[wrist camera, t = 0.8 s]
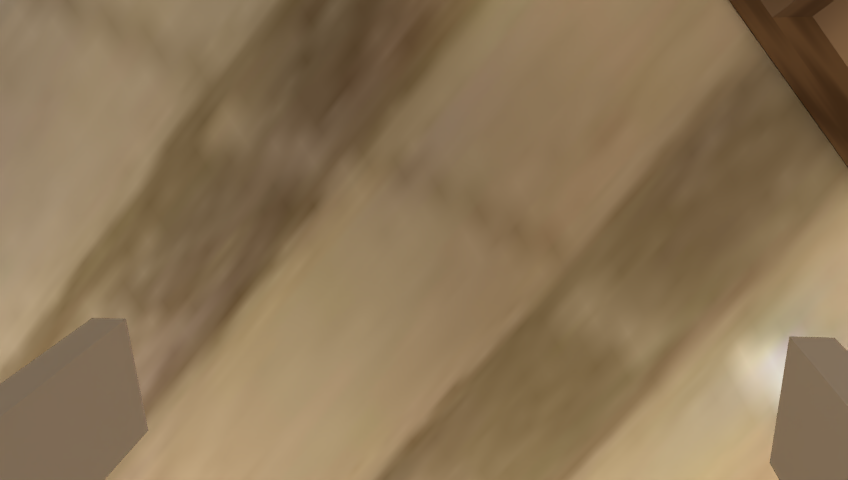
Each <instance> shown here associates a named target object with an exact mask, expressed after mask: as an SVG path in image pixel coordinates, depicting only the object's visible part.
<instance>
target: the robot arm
mask: <svg viewBox="0 0 848 480" xmlns="http://www.w3.org/2000/svg"><path fill="white" fill-rule="evenodd" d="M147 431H148V427H147V422H146V417H145V412H144V407H143V402H142V397H141V392H140V387H139V382H138V377H137V372H136V367H135V362H134V357H133V352H132V347H131V342H130V338H129V333H128V328H127V323H126V319H114V318H92V319H90V320H89V321H87V322H86V323H85V324H83V325H82V326H80V327H79V328H78V329H76V330H75V331H73V332H72V333H71V334H69V335H68V336H66V337H65V338H64V339H62V340H61V341H59V342H58V343H57V344H55V345H54V346H52V347H51V348H50V349H48V350H47V351H46V352H44V353H43V354H41V355H40V356H39V357H37V358H36V359H34V360H33V361H32V362H30V363H29V364H27V365H26V366H25V367H23V368H22V369H20V370H19V371H18V372H16V373H15V374H13V375H12V376H11V377H9V378H8V379H6V380H5V381H4V382H2V383H1V384H0V480H105V478H106V477H107V476H108V475H109V474H110V473H111V472H112V471H113V469H114V468H115V467H116V466H117V465H118V464H119V463H120V462H121V460H122V459H123V458H124V457H125V456H126V455H127V454H128V453H129V451H130V450H131V449H132V448H133V447H134V446H135V445H136V443H137V442H138V441H139V440H140V439H141V438H142V437H143V436H144V434H145V433H146V432H147ZM770 464H771V466H772V467H773V469H774V471H775V473H776V475H777V476H778V478H779V480H848V351H847V350H846V349H845V348H844V347H843V346H842V345H841V344H840V343H839V342H838V341H837V340H836V339H835V338H823V337H789V343H788V350H787V356H786V362H785V369H784V375H783V381H782V388H781V394H780V401H779V407H778V413H777V420H776V426H775V433H774V439H773V445H772V452H771V458H770Z"/></svg>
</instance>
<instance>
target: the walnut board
mask: <svg viewBox="0 0 848 480" xmlns="http://www.w3.org/2000/svg"><path fill="white" fill-rule="evenodd" d="M730 2H731V3H732V5H733V6H734V7H735V9H736V10H737V12H738V13H739V14H740V16H741V17H742V19H743V20H744V22H745V23H746V24H747V26H748V27H749V29H750V30H751V31H752V33H753V34H754V36H755V37H756V38H757V40H758V41H759V43H760V44H761V45H762V47H763V48H764V50H765V51H766V52H767V54H768V55H769V57H770V58H771V59H772V61H773V62H774V64H775V65H776V66H777V68H778V69H779V71H780V72H781V73H782V75H783V76H784V78H785V79H786V81H787V82H788V83H789V85H790V86H791V88H792V89H793V90H794V92H795V93H796V95H797V96H798V97H799V99H800V100H801V102H802V103H803V104H804V106H805V107H806V109H807V110H808V111H809V113H810V114H811V116H812V117H813V118H814V120H815V121H816V123H817V124H818V125H819V127H820V128H821V130H822V131H823V132H824V134H825V135H826V137H827V138H828V139H829V141H830V142H831V144H832V145H833V147H834V148H835V149H836V151H837V152H838V154H839V155H840V156H841V158H842V159H843V161H844V162H845V163H846V165H847V166H848V0H730Z"/></svg>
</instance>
